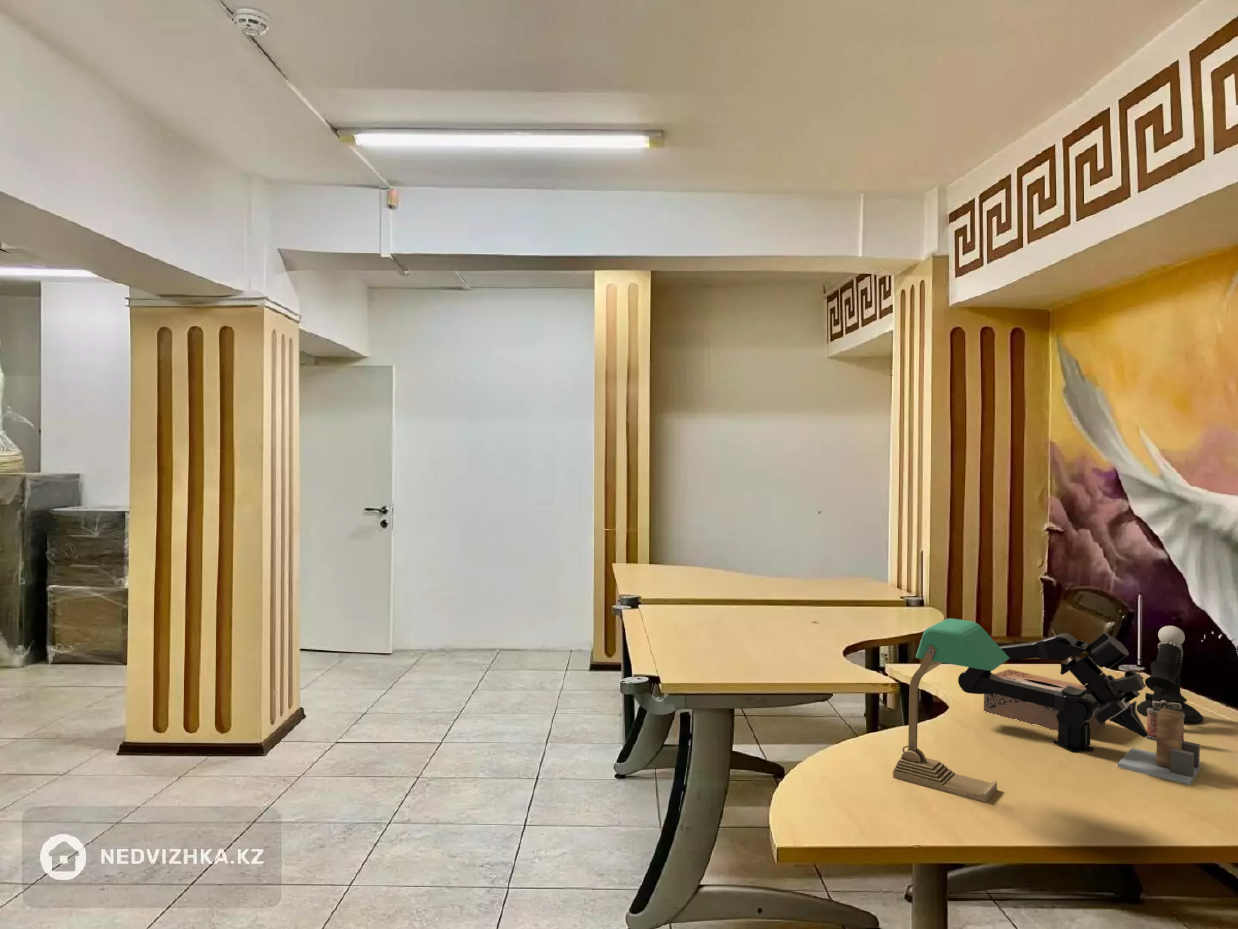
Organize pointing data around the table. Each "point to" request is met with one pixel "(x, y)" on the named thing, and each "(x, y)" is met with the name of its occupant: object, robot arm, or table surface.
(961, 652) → the banker's lamp
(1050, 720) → the tissue box cover
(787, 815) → the table surface
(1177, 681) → the sculpture
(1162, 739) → the tall wooden post
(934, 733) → the table surface
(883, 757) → the table surface
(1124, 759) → the grey stand
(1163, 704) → the lighter
